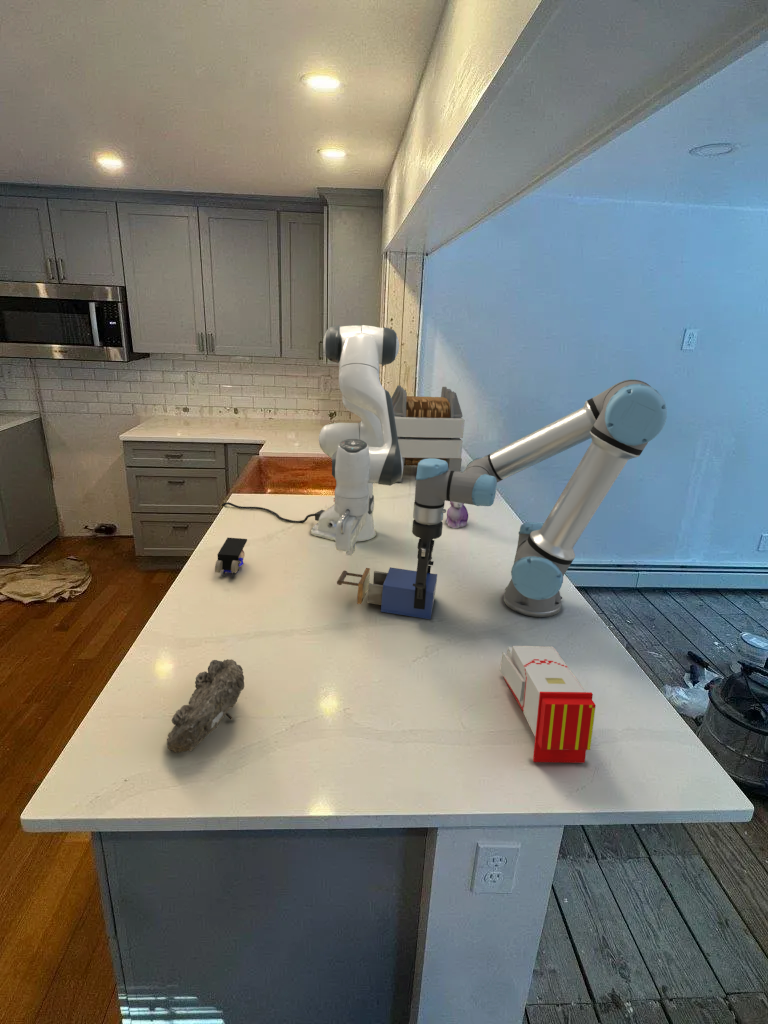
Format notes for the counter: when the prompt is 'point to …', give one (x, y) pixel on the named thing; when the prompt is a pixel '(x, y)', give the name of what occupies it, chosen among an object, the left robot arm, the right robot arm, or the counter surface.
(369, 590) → the wooden drawer
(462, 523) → the figurine
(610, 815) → the counter surface
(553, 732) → the toy
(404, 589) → the blue square-sided box
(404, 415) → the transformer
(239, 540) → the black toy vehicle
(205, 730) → the fossil
